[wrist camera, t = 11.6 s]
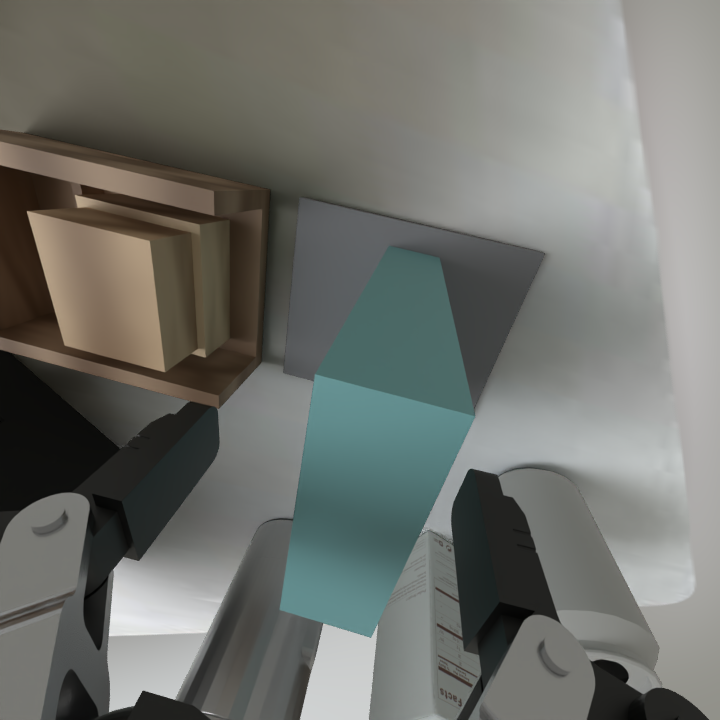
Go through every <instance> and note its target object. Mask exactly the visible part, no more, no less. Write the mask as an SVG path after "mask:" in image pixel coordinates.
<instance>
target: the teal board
mask: <svg viewBox="0 0 720 720" xmlns="http://www.w3.org/2000/svg"><path fill="white" fill-rule="evenodd" d="M474 418H475V413H474V408H473V404H472V399H471V395H470V390H469V386H468V382H467V377H466V373H465V368H464V364H463V359H462V355H461V350H460V346H459V342H458V337H457V333H456V328H455V324H454V319H453V315H452V310H451V306H450V302H449V297H448V293H447V288H446V284H445V279H444V275H443V270H442V266H441V262H440V258H439V257H435V256H431V255H426V254H422V253H418V252H414V251H410V250H405V249H401V248H397V247H393V246H389V247H388V248H387V250H386V252H385V253H384V255H383V257H382V259H381V260H380V262H379V264H378V266H377V267H376V269H375V271H374V273H373V274H372V276H371V278H370V280H369V281H368V283H367V285H366V287H365V288H364V290H363V292H362V293H361V295H360V297H359V299H358V300H357V302H356V304H355V306H354V307H353V309H352V311H351V313H350V314H349V316H348V318H347V320H346V321H345V323H344V325H343V327H342V328H341V330H340V332H339V333H338V335H337V337H336V339H335V340H334V342H333V344H332V346H331V347H330V349H329V351H328V353H327V354H326V356H325V358H324V360H323V361H322V363H321V365H320V367H319V368H318V370H317V372H316V373H315V378H314V384H313V391H312V398H311V404H310V411H309V417H308V424H307V431H306V437H305V444H304V451H303V457H302V464H301V471H300V477H299V484H298V490H297V497H296V504H295V510H294V517H293V524H292V530H291V537H290V543H289V550H288V557H287V563H286V570H285V577H284V583H283V590H282V596H281V603H280V610H282V611H285V612H288V613H292V614H295V615H298V616H301V617H305V618H308V619H311V620H315V621H318V622H321V623H324V624H328V625H331V626H335V627H338V628H341V629H344V630H348V631H351V632H354V633H358V634H361V635H364V636H367V637H370V638H371V636H372V635H373V632H374V630H375V628H376V626H377V624H378V622H379V620H380V618H381V615H382V613H383V611H384V609H385V607H386V605H387V603H388V601H389V598H390V596H391V594H392V592H393V590H394V588H395V586H396V584H397V582H398V579H399V577H400V575H401V573H402V571H403V569H404V567H405V565H406V562H407V560H408V558H409V556H410V554H411V552H412V550H413V548H414V545H415V543H416V541H417V539H418V537H419V535H420V533H421V531H422V528H423V526H424V524H425V522H426V520H427V518H428V516H429V514H430V511H431V509H432V507H433V505H434V503H435V501H436V499H437V497H438V494H439V492H440V490H441V488H442V486H443V484H444V482H445V480H446V477H447V475H448V473H449V471H450V469H451V467H452V465H453V463H454V461H455V458H456V456H457V454H458V452H459V450H460V448H461V446H462V444H463V441H464V439H465V437H466V435H467V433H468V431H469V429H470V427H471V424H472V422H473V420H474Z"/></svg>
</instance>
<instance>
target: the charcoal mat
mask: <svg viewBox="0 0 720 720" xmlns="http://www.w3.org/2000/svg"><path fill="white" fill-rule="evenodd" d="M389 246H393V247H397V248H401V249H405V250H410V251H414V252H418V253H422V254H426V255H431V256H435V257H439V258H440V262H441V266H442V270H443V275H444V279H445V284H446V288H447V293H448V297H449V302H450V306H451V310H452V315H453V319H454V324H455V328H456V333H457V337H458V342H459V346H460V350H461V355H462V359H463V364H464V368H465V373H466V377H467V382H468V386H469V390H470V395H471V399H472V404H473V408H475V405H476V403H477V401H478V399H479V397H480V395H481V392H482V390H483V388H484V386H485V384H486V381H487V379H488V377H489V375H490V373H491V371H492V368H493V366H494V364H495V362H496V360H497V358H498V355H499V353H500V351H501V349H502V347H503V344H504V342H505V340H506V338H507V336H508V334H509V331H510V329H511V327H512V325H513V323H514V320H515V318H516V316H517V314H518V312H519V310H520V307H521V305H522V303H523V301H524V299H525V297H526V294H527V292H528V290H529V288H530V286H531V283H532V281H533V279H534V277H535V275H536V273H537V270H538V268H539V266H540V264H541V262H542V260H543V257H544V255H545V253H543V252H540V251H536V250H531V249H527V248H523V247H518V246H514V245H510V244H505V243H501V242H496V241H492V240H488V239H483V238H479V237H475V236H470V235H466V234H462V233H457V232H453V231H449V230H444V229H440V228H435V227H431V226H427V225H422V224H418V223H414V222H409V221H405V220H401V219H396V218H392V217H388V216H383V215H379V214H374V213H370V212H366V211H361V210H357V209H353V208H348V207H344V206H340V205H335V204H331V203H327V202H322V201H318V200H314V199H309V198H305V197H299V208H298V219H297V230H296V241H295V252H294V263H293V273H292V284H291V295H290V306H289V317H288V328H287V339H286V349H285V360H284V371H283V373H285V374H289V375H293V376H297V377H300V378H304V379H308V380H312V381H314V378H315V373H316V372H317V370H318V368H319V367H320V365H321V363H322V361H323V360H324V358H325V356H326V354H327V353H328V351H329V349H330V347H331V346H332V344H333V342H334V340H335V339H336V337H337V335H338V333H339V332H340V330H341V328H342V327H343V325H344V323H345V321H346V320H347V318H348V316H349V314H350V313H351V311H352V309H353V307H354V306H355V304H356V302H357V300H358V299H359V297H360V295H361V293H362V292H363V290H364V288H365V287H366V285H367V283H368V281H369V280H370V278H371V276H372V274H373V273H374V271H375V269H376V267H377V266H378V264H379V262H380V260H381V259H382V257H383V255H384V253H385V252H386V250H387V248H388V247H389Z"/></svg>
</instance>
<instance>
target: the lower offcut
mask: <svg viewBox="0 0 720 720" xmlns="http://www.w3.org/2000/svg"><path fill="white" fill-rule="evenodd" d="M75 198H76V203H77V207H78V208H81V207H87V208H91V209H95V210H99V211H103V212H108V213H112V214H116V215H120V216H124V217H128V218H133V219H137V220H141V221H145V222H149V223H153V224H157V225H162V226H166V227H170V228H174V229H178V230H182V231H187V232H191V238H192V255H193V273H194V290H195V308H196V326H197V343H198V349H197V350H195V351H194V352H193V353H191V354H194V355H198V356H202V357H205V358H206V357H207V356H208V355H210V354H211V353H212V352H213V351H215V350H216V349H217V348H218V347H220V346H221V345H222V344H223V343H225V342H226V341H227V340H229V339H230V220H229V219H225V218H221V217H217V216H213V215H208V214H204V213H200V212H196V211H191V210H187V209H183V208H179V207H175V206H170V205H166V204H162V203H158V202H153V201H149V200H145V199H141V198H136V197H132V196H128V195H124V194H91V195H75Z"/></svg>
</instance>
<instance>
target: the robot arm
mask: <svg viewBox="0 0 720 720" xmlns="http://www.w3.org/2000/svg"><path fill="white" fill-rule="evenodd" d="M218 449H219V425H218V411H217V408H216V407H214V406H210V405H205V404H201V403H197V402H193V401H192V402H189V403H187V404H186V405H185V406H184V407H183V408H182V409H181V410H180V411H179V412H178V413H176V414H175V415H174V414H170V413H169V414H167V415H165V416H163V417H161V418H159V419H157V420H155V421H153V422H151V423H150V424H149V425H148V426H146V427H145V428H144V429H143V430H142V431H141V432H140V433H139V434H137V437H134V438H133V439H132V440H131V441H129V442H128V443H127V444H126V446H125V448H122V449H120V450H119V451H118V452H117V453H116V454H115V455H114V456H113V457H111V458H110V459H109V460H108V461H107V462H106V463H105V464H103V465H102V466H101V467H100V468H99V469H98V470H97V471H96V472H94V473H93V474H92V475H91V476H90V477H89V478H88V479H86V480H85V481H84V482H83V483H82V484H81V485H80V486H79V487H77V488H76V489H75V490H74V491H72V492H71V493H60V494H55V495H51V496H48V497H45V498H43V499H40V500H38V501H36V502H34V503H33V504H31V505H29V506H27V507H26V508H25V509H23V510H21V511H3V512H0V720H300V716H301V712H302V708H303V703H304V699H305V695H306V690H307V686H308V682H309V678H310V674H311V670H312V666H313V663H314V660H315V657H316V652H317V648H318V644H319V639H320V635H321V631H322V626H323V623H321V622H318V621H315V620H311V619H308V618H305V617H301V616H298V615H295V614H292V613H288V612H285V611H282V610H280V603H281V596H282V590H283V583H284V577H285V570H286V563H287V557H288V550H289V543H290V537H291V530H292V524H293V521H292V520H273V521H269V522H267V523H264V524H263V525H261V526H260V527H259V528H258V530H257V531H256V533H255V535H254V537H253V539H252V541H251V543H250V544H249V547H248V549H247V551H246V554H245V556H244V558H243V560H242V562H241V564H240V566H239V568H238V570H237V572H236V574H235V576H234V579H233V581H232V583H231V585H230V587H229V589H228V591H227V593H226V595H225V597H224V599H223V601H222V603H221V606H220V608H219V610H218V612H217V614H216V616H215V618H214V620H213V622H212V624H211V626H210V628H209V630H208V632H207V635H206V637H205V639H204V641H203V643H202V645H201V647H200V649H199V651H198V654H197V655H196V658H195V660H194V662H193V664H192V666H191V668H190V670H189V672H188V674H187V676H186V678H185V680H184V682H183V684H182V686H181V689H180V691H179V693H178V695H177V697H176V699H175V700H173V699H170V698H167V697H163V696H160V695H156V694H153V693H149V692H146V691H142V693H141V695H140V697H139V699H138V700H137V702H136V704H135V706H132V707H127V708H123V709H119V710H115V711H112V712H109V701H110V681H109V672H108V663H107V650H108V637H109V625H110V613H111V601H112V589H113V577H114V571H113V569H114V568H115V566H116V565H117V564H118V563H119V561H120V560H121V559H122V558H123V557H126V558H130V559H133V560H137V561H139V560H140V559H141V558H142V556H143V555H144V554H145V552H146V551H147V550H148V548H149V547H150V546H151V544H152V543H153V542H154V540H155V539H156V537H157V536H158V535H159V533H160V532H161V531H162V529H163V528H164V527H165V525H166V524H167V523H168V521H169V520H170V519H171V517H172V516H173V515H174V513H175V512H176V511H177V509H178V508H179V507H180V505H181V504H182V503H183V501H184V500H185V499H186V497H187V496H188V495H189V493H190V492H191V491H192V489H193V488H194V487H195V485H196V484H197V483H198V481H199V480H200V479H201V477H202V476H203V475H204V473H205V472H206V470H207V469H208V468H209V466H210V465H211V464H212V462H213V461H214V459H215V457H216V455H217V452H218ZM451 524H452V534H453V544H454V555H455V565H456V576H457V586H458V596H459V607H460V617H461V628H462V638H463V648H464V651H465V652H469V653H473V654H476V655H479V660H480V667H481V673H480V674H479V675H478V677H477V679H476V681H475V682H474V684H473V686H472V688H471V690H470V691H469V693H468V695H467V697H466V699H465V701H464V702H463V704H462V706H461V708H460V710H459V711H458V713H457V715H456V717H455V719H454V720H709V719H708V718H707V717H706V716H705V715H704V714H703V713H702V712H701V711H700V710H699V709H698V708H697V707H695V706H694V705H693V704H692V703H690V702H689V701H688V700H687V699H685V698H684V697H682V696H681V695H679V694H677V693H676V692H673V691H671V690H669V689H665V688H653V689H651V690H649V691H648V692H646V693H645V694H642V693H640V692H639V691H637V690H636V689H634V688H632V687H631V686H629V685H628V684H626V683H624V682H623V681H621V680H619V679H618V678H616V677H615V676H613V675H611V674H610V673H608V672H607V671H605V670H603V669H602V668H600V667H599V666H597V665H596V664H594V663H593V662H592V661H591V660H590V659H589V658H588V656H587V654H586V652H585V650H584V649H583V647H582V646H581V644H580V643H579V641H578V640H577V639H576V638H575V637H574V635H573V634H572V633H571V632H570V631H569V630H568V629H567V628H565V627H564V626H563V625H562V624H561V622H560V620H559V617H558V615H557V612H556V609H555V605H554V602H553V599H552V596H551V593H550V590H549V587H548V584H547V581H546V578H545V574H544V571H543V568H542V565H541V562H540V559H539V556H538V553H536V547H535V544H534V540H533V537H531V531H530V528H529V525H528V522H527V519H526V516H525V514H524V512H523V511H522V510H521V508H520V507H519V505H518V504H517V502H516V501H515V500H514V498H513V497H509V496H505V495H503V491H502V488H501V484H500V480H499V478H498V476H497V475H496V474H491V473H487V472H483V471H479V470H475V469H470V470H469V471H468V472H467V474H466V477H465V479H464V481H463V483H462V485H461V487H460V490H459V492H458V494H457V496H456V498H455V501H454V503H453V508H452V515H451Z"/></svg>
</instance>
